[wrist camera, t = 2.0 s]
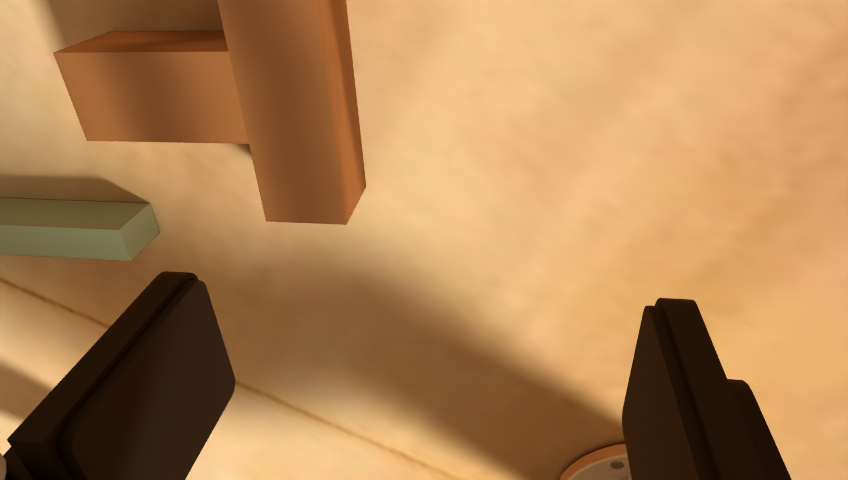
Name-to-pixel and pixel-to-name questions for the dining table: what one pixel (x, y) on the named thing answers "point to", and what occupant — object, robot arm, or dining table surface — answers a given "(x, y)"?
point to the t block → (238, 98)
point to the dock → (75, 228)
